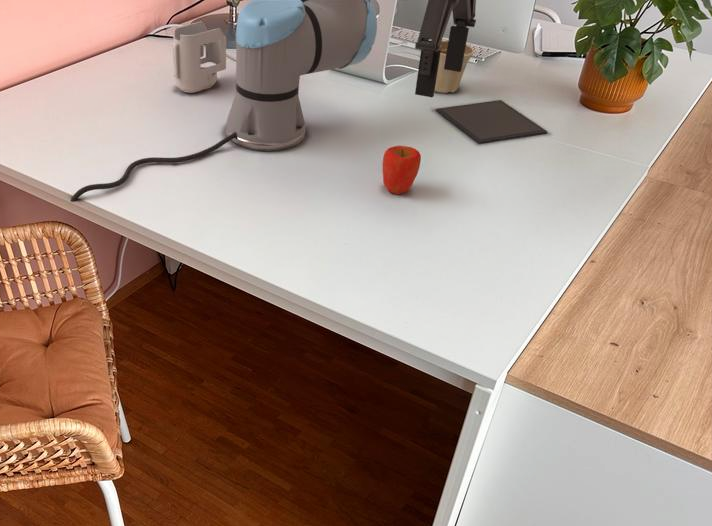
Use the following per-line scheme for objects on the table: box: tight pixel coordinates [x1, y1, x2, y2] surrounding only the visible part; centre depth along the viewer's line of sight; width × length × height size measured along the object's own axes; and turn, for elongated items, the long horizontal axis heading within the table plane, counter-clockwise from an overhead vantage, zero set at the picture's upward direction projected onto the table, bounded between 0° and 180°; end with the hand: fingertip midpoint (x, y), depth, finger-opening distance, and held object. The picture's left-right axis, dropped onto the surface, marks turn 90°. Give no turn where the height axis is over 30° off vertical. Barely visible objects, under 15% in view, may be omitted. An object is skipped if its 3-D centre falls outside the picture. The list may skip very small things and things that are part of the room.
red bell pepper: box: [381, 145, 422, 195], centre depth 119 cm, size 6×6×8 cm
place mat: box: [435, 99, 548, 145], centre depth 144 cm, size 16×16×1 cm
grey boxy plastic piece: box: [172, 20, 227, 94], centre depth 149 cm, size 7×12×12 cm, turn 135°
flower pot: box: [434, 40, 475, 94], centre depth 153 cm, size 9×9×9 cm
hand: (438, 82), depth 111 cm, fingers open, 13 cm apart
